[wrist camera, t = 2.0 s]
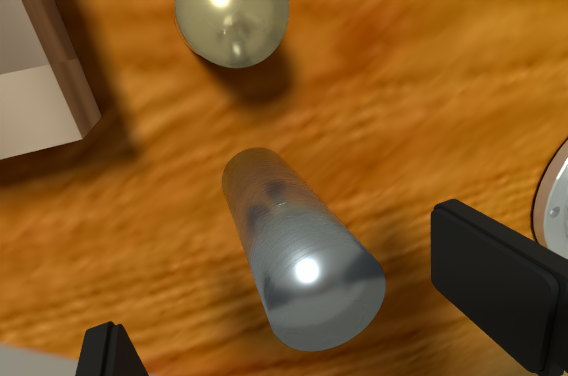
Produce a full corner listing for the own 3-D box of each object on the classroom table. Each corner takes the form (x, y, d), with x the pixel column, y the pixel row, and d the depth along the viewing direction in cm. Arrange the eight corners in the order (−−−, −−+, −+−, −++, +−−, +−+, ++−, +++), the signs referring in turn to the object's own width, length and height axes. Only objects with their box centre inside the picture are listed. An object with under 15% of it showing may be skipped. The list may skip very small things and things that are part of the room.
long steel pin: (281, 139, 19) (380, 230, 10) (293, 200, 20) (389, 325, 12) (213, 158, 18) (255, 272, 9) (231, 219, 20) (281, 368, 11)
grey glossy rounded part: (246, -38, 16) (277, -68, 11) (264, 51, 17) (297, 55, 13) (162, -23, 15) (158, -49, 10) (187, 68, 16) (194, 79, 12)
